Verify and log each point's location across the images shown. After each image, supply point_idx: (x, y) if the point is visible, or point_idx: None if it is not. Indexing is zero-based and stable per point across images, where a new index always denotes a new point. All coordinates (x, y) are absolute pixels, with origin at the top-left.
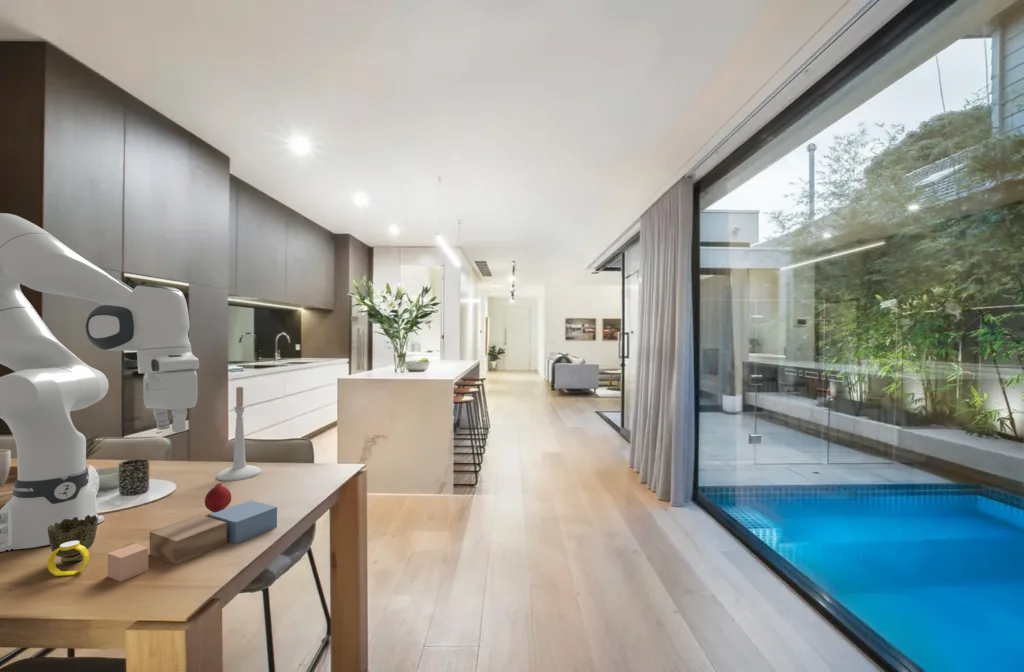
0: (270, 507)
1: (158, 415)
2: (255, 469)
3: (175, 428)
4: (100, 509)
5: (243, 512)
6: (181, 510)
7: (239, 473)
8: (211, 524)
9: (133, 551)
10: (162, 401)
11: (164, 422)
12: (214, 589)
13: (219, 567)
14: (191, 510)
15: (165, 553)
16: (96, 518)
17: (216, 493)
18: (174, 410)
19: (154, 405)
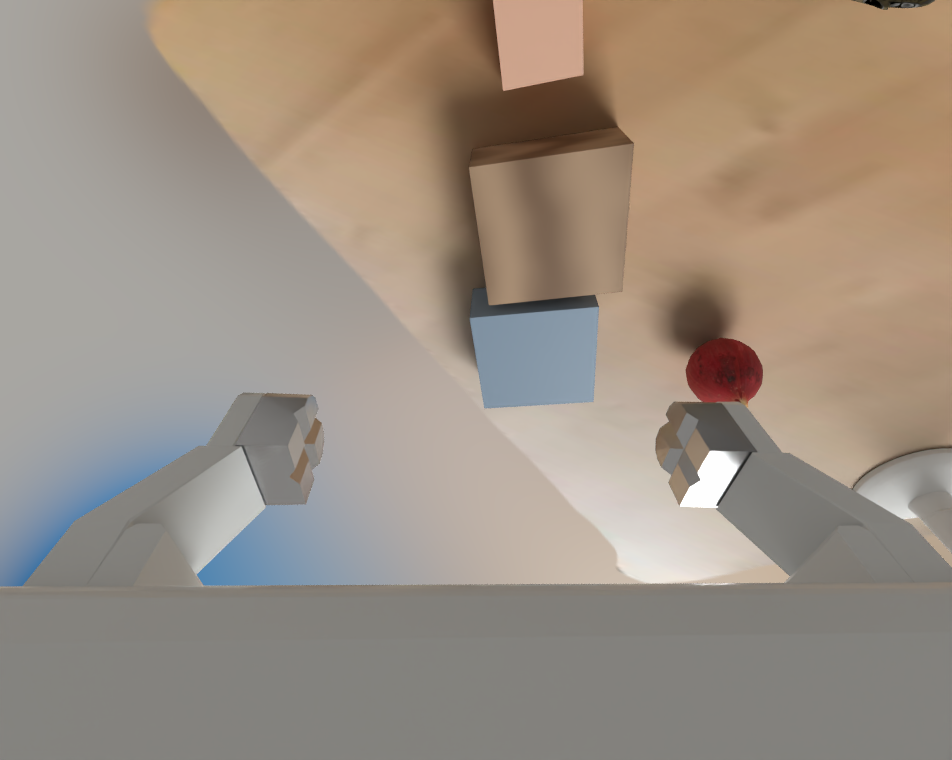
0: (495, 400)
1: (813, 517)
2: None
3: (234, 414)
4: None
5: (523, 356)
6: (848, 308)
7: (894, 483)
8: (512, 278)
9: (513, 42)
10: (236, 738)
11: (690, 470)
12: (248, 150)
13: (364, 208)
14: (813, 322)
15: (530, 145)
16: (900, 6)
17: (716, 378)
18: (31, 585)
19: (743, 630)
